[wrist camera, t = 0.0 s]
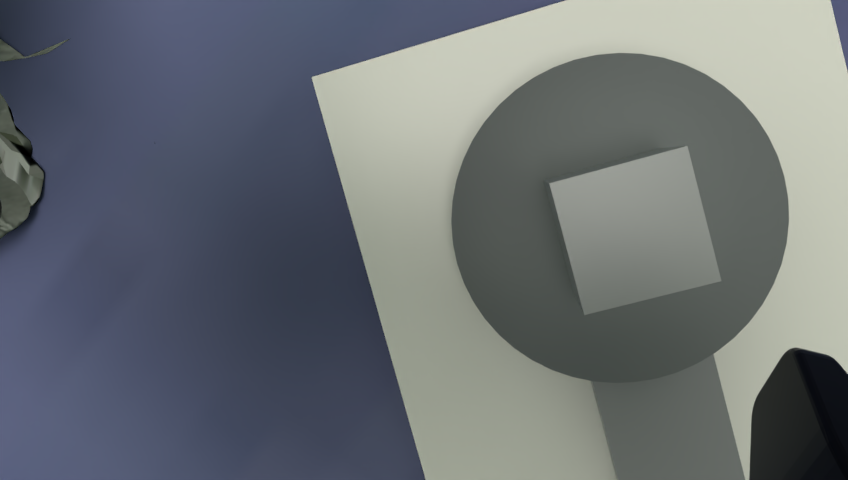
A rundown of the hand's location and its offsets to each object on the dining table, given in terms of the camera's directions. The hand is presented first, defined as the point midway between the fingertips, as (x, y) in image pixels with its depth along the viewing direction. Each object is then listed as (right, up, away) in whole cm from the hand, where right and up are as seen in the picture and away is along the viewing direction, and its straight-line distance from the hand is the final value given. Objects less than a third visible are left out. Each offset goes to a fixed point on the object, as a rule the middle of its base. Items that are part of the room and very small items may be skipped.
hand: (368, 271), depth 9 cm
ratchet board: (+7, -3, +15) cm, 16 cm away
